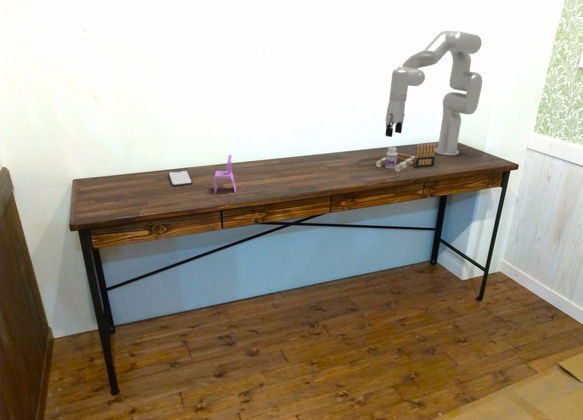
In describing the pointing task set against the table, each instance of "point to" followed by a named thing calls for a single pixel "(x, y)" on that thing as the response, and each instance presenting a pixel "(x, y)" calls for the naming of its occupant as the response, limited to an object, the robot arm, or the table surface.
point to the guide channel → (400, 166)
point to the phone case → (180, 178)
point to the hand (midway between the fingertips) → (393, 134)
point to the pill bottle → (391, 158)
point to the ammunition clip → (424, 156)
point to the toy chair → (225, 174)
